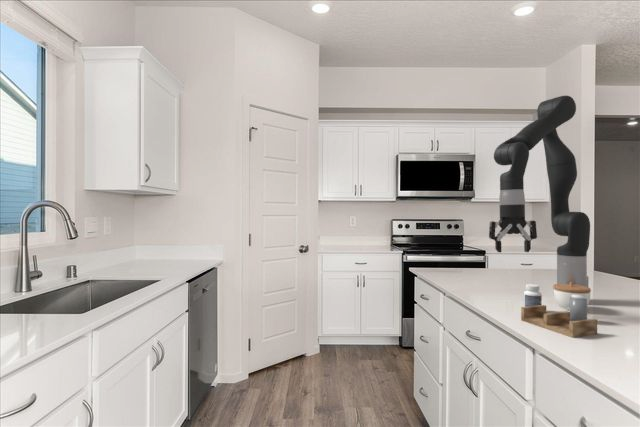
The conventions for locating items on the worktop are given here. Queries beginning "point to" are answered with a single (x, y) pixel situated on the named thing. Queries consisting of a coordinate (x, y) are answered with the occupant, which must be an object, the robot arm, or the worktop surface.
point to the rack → (558, 321)
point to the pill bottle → (532, 296)
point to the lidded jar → (569, 294)
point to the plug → (578, 307)
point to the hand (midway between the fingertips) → (512, 252)
